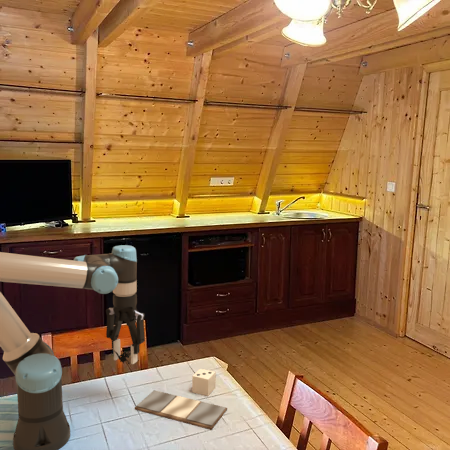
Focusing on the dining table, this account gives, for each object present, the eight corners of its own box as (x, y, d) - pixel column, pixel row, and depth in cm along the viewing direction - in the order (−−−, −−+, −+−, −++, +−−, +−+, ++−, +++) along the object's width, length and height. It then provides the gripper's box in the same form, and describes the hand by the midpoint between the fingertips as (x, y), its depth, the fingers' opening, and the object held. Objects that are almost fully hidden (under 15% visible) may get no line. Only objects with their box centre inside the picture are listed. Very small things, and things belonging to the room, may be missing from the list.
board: (134, 409, 150) (134, 406, 150) (154, 391, 161) (154, 389, 161) (211, 429, 140) (211, 426, 140) (227, 409, 151) (227, 406, 151)
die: (192, 392, 161) (192, 375, 160) (199, 384, 167) (200, 368, 166) (208, 396, 159) (208, 379, 158) (215, 388, 164) (215, 371, 163)
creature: (122, 358, 162) (109, 363, 154) (123, 342, 162) (111, 346, 155) (142, 362, 159) (130, 367, 152) (143, 346, 160) (132, 350, 152)
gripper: (156, 294, 152) (156, 361, 156) (107, 286, 160) (108, 351, 163) (143, 300, 146) (144, 371, 149) (93, 292, 153) (94, 359, 156)
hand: (125, 360), depth 156 cm, fingers closed on creature, 6 cm apart
